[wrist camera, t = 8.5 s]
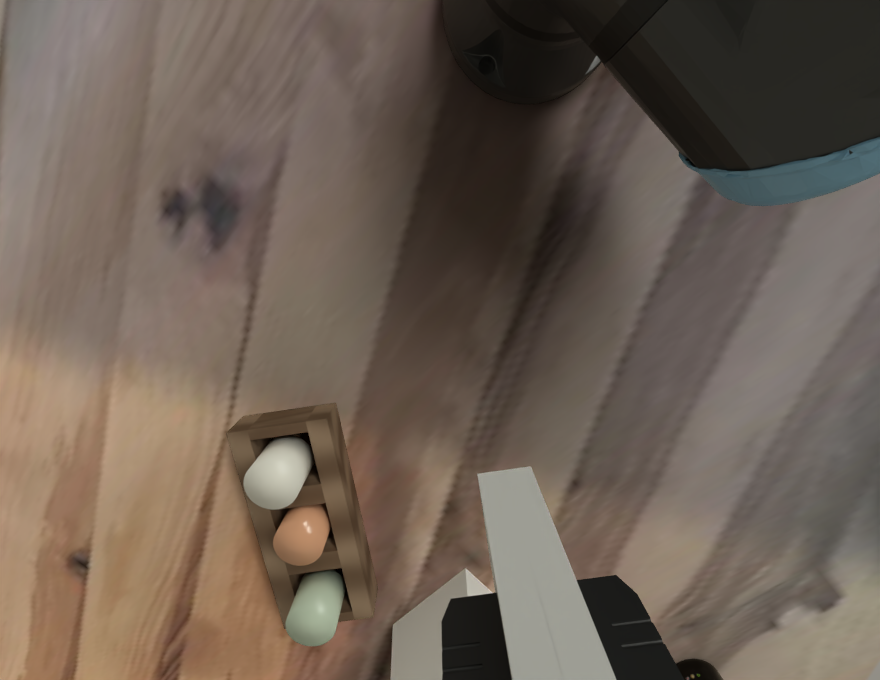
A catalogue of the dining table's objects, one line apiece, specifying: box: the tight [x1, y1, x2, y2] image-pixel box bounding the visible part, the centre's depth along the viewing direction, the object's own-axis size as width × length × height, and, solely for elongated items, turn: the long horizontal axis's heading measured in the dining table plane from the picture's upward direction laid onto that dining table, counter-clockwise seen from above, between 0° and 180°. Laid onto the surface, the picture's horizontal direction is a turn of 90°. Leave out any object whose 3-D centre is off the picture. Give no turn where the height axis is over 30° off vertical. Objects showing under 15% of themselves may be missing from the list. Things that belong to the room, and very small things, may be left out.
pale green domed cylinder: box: [285, 569, 346, 646], centre depth 46 cm, size 5×5×5 cm
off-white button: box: [244, 435, 314, 510], centre depth 42 cm, size 5×5×5 cm
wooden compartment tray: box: [226, 403, 378, 629], centre depth 47 cm, size 24×10×4 cm, turn 9°
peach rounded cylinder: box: [273, 503, 331, 566], centre depth 46 cm, size 5×5×5 cm
